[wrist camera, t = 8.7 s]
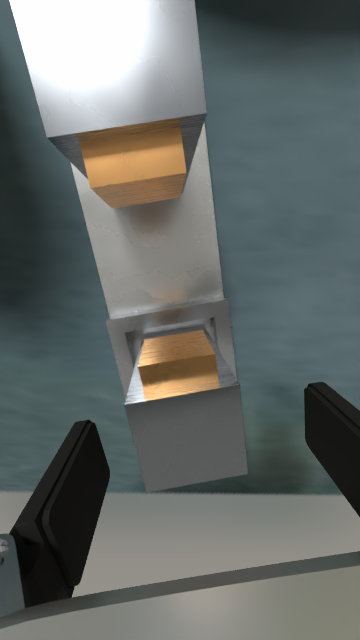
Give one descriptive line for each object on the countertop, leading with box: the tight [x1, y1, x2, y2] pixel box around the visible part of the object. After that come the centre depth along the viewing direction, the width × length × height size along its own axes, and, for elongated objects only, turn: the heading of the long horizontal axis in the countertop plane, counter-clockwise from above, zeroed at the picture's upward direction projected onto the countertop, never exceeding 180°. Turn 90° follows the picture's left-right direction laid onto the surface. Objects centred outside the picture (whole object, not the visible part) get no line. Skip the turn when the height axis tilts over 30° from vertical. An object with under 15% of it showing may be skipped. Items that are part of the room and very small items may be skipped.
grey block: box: [124, 325, 248, 493], centre depth 13 cm, size 6×4×8 cm
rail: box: [10, 0, 237, 397], centre depth 12 cm, size 8×22×10 cm, turn 9°
